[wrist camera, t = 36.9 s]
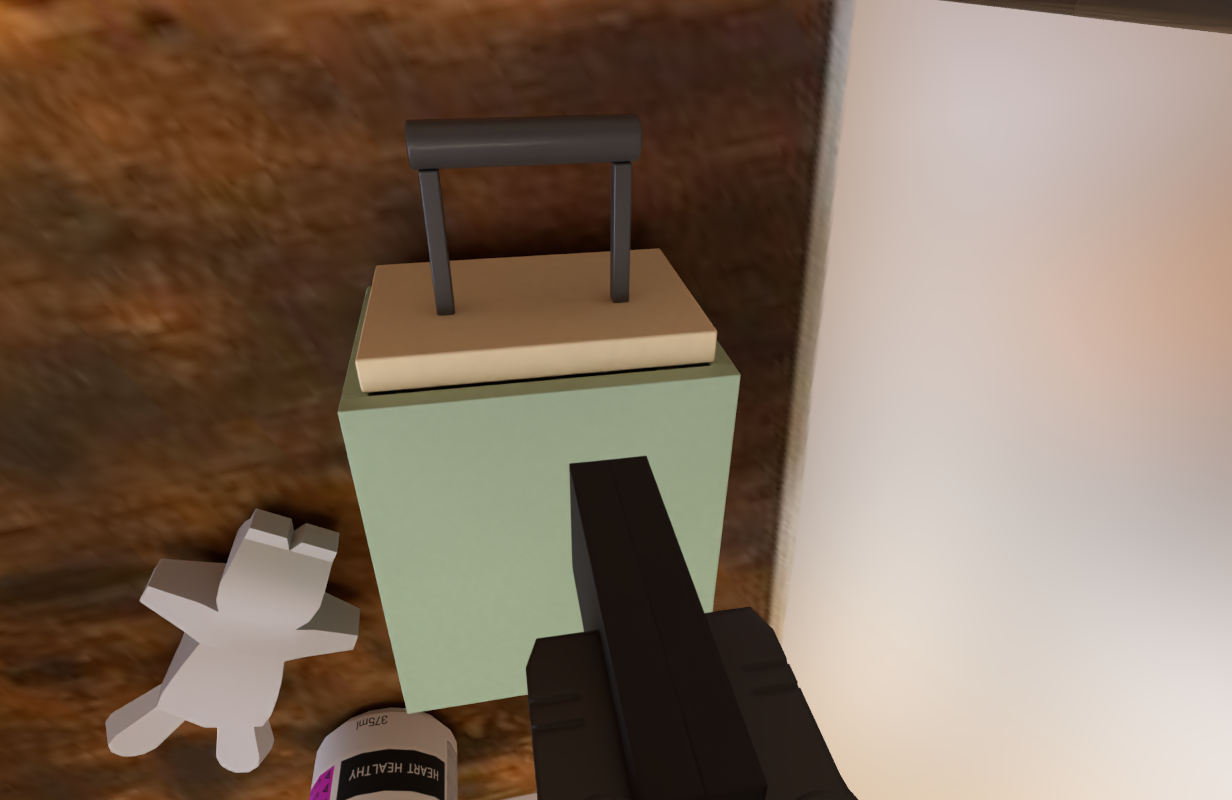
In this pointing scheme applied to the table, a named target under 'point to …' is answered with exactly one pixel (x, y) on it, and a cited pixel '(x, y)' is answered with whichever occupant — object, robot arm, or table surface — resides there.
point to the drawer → (526, 277)
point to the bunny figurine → (238, 638)
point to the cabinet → (518, 507)
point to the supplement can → (387, 759)
